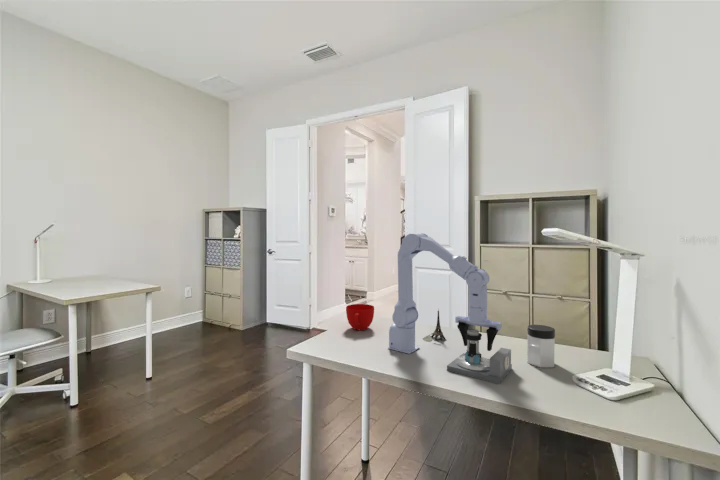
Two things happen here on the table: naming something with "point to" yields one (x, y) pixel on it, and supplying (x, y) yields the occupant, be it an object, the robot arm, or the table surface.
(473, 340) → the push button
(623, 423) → the table surface
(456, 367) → the postal scale
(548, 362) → the jar
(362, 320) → the ceramic cup
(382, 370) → the table surface
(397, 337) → the robot arm
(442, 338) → the eiffel tower figurine
